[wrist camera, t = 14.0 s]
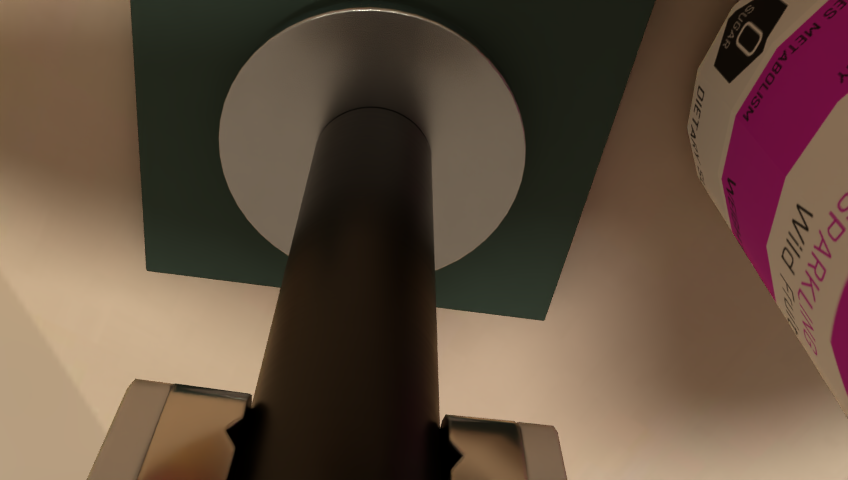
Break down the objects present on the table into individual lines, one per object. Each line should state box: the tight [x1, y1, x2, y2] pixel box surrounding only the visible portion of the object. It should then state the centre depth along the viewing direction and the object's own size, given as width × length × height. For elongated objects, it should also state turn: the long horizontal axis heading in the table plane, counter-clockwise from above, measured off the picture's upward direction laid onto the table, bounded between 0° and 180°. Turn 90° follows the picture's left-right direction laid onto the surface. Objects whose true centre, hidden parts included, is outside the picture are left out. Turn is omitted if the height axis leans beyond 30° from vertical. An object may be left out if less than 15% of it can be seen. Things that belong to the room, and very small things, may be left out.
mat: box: [130, 0, 655, 321], centre depth 18 cm, size 11×10×1 cm
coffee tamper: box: [218, 1, 526, 480], centre depth 12 cm, size 7×7×10 cm
